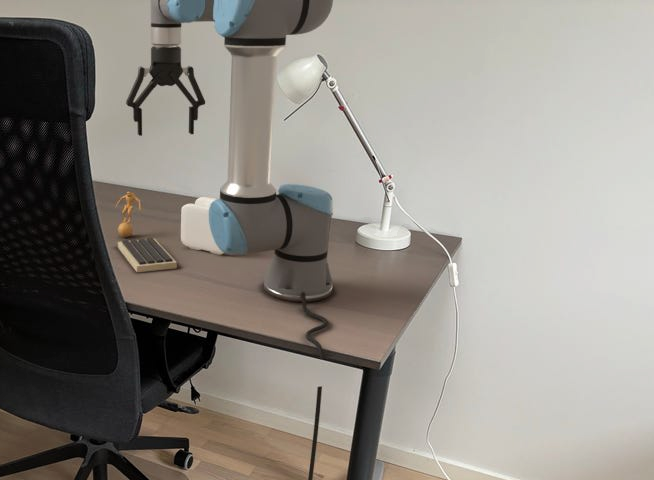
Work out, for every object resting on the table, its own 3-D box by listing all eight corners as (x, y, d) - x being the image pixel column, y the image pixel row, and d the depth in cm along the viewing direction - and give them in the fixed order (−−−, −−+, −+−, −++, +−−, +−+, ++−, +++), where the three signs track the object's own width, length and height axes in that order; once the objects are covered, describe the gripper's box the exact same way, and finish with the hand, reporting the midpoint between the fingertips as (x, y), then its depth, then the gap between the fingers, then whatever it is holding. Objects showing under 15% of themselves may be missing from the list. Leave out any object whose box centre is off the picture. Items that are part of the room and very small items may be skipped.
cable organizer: (177, 246, 194) (177, 203, 189) (198, 236, 202) (199, 194, 196) (227, 257, 187) (229, 212, 181) (247, 246, 195) (249, 202, 189)
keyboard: (176, 268, 179) (176, 259, 178) (136, 272, 177) (136, 263, 176) (154, 244, 195) (154, 236, 194) (117, 247, 193) (117, 239, 192)
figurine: (108, 236, 201) (107, 192, 196) (122, 230, 206) (121, 187, 200) (133, 241, 197) (133, 197, 192) (146, 235, 202) (146, 192, 196)
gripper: (211, 44, 188) (208, 130, 198) (114, 44, 184) (116, 132, 194) (218, 46, 182) (215, 135, 192) (117, 47, 177) (119, 138, 187)
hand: (165, 134), depth 193 cm, fingers open, 13 cm apart
